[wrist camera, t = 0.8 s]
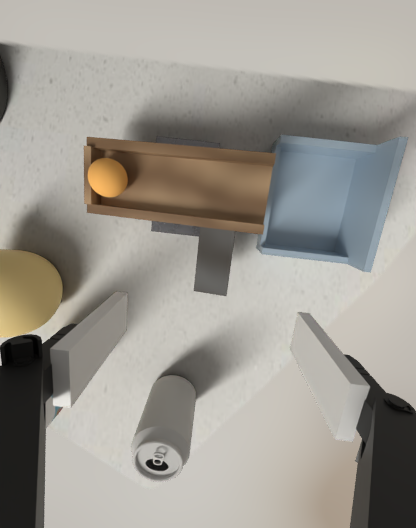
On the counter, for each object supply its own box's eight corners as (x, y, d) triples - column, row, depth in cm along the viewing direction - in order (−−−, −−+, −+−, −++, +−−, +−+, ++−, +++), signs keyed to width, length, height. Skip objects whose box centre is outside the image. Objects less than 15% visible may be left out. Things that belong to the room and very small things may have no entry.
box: (336, 257, 35) (370, 272, 27) (256, 247, 35) (267, 260, 27) (361, 153, 32) (408, 137, 24) (272, 144, 32) (290, 124, 24)
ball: (95, 179, 29) (71, 175, 25) (116, 153, 28) (94, 145, 24) (119, 205, 29) (99, 204, 25) (140, 180, 28) (123, 175, 24)
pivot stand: (209, 236, 35) (208, 241, 31) (153, 230, 35) (144, 233, 31) (219, 145, 32) (219, 136, 28) (158, 138, 32) (149, 128, 28)
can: (148, 404, 42) (122, 480, 30) (156, 367, 40) (130, 433, 29) (191, 413, 42) (181, 493, 31) (200, 376, 40) (193, 447, 29)
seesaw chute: (250, 296, 30) (251, 306, 27) (99, 273, 33) (85, 279, 30) (273, 158, 27) (276, 152, 24) (99, 142, 29) (83, 135, 26)
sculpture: (-7, 238, 36) (-98, 253, 26) (74, 250, 36) (15, 269, 26) (-2, 310, 39) (-82, 349, 29) (73, 321, 39) (20, 364, 28)
